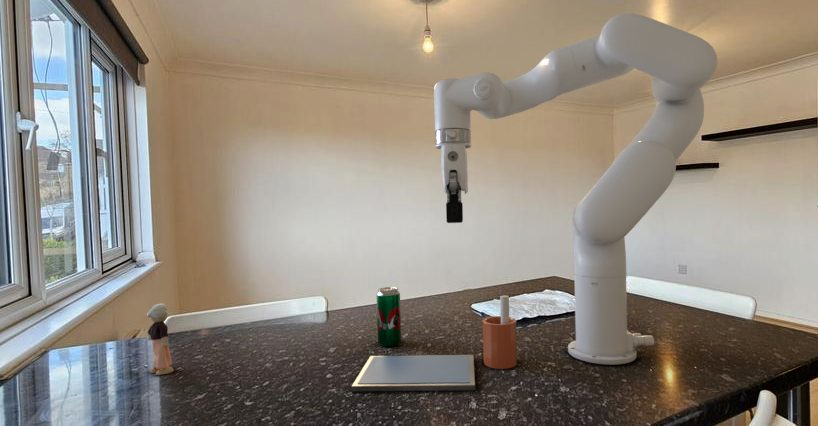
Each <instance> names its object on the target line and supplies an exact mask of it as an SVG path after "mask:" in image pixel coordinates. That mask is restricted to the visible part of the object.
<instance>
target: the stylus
mask: <svg viewBox="0 0 818 426" xmlns="http://www.w3.org/2000/svg"><path fill="white" fill-rule="evenodd" d="M499 302H500V305H499V306H500V307H499V308H500V316H501V324H507V323H509V317H510V296H509V295H504V294H503V295H500V296H499Z"/></svg>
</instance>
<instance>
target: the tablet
mask: <svg viewBox="0 0 818 426" xmlns="http://www.w3.org/2000/svg"><path fill="white" fill-rule="evenodd" d="M474 359H475V358H474V354H434V355H432V354H428V355H427V354H426V355H425V354H424V355H423V354H421V355H370V356H369V358H368V359H367V361H366V362H365V364H364V365H363V367H362V369H361V370H360V372H359V374H358V375H357V376H356V378H355V380H354V381H353V383H352V385H351V392H354V393H355V392H439V391H440V392H445V391H447V392H450V391H460V392H461V391H476V378H475V377H476V376H475V361H474Z"/></svg>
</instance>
